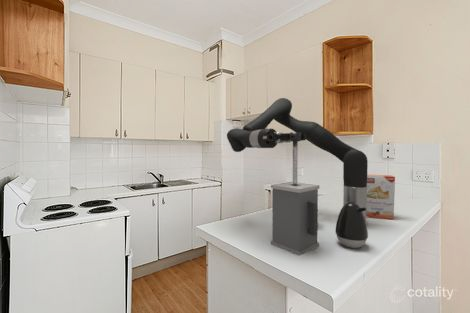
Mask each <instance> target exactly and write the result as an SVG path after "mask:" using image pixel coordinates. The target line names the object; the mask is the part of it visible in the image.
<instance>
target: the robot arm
mask: <svg viewBox="0 0 470 313" xmlns="http://www.w3.org/2000/svg"><path fill="white" fill-rule="evenodd" d="M292 108H293V102H292V101H291V100H290V99H288V98H287V97H281V98H278V99H276V100H275V101H274V102H273V103H272V104H271V105H270V106H269V107H268V108H266V110H264V111H263V112H262V113H261V114H260V115H258V116H257V117H256V118H254V119H253V120H251V121H250V122H248V123H247V124H245V125H244V126H243V127H242V128H237V127H236V128H231V129H230V130H229V131H228V132H227V133H226V139H227V140H228V143H229V145H230V147H231V150H232V151H234V152H235V153H240V152H243V151H244V150H245V149H246V148H250V149H251V148H253V149H254V148H257V149H274V148H275V147H277V145H278V144H284V143H287V144H288V143H291V142H292V141H290V140H291V132H286V133H285V132H284V133H283V132H277V131H276V129H275V128H268V126H269V125H270V124H271V122H273V120H274V121H276V122H277V123H279V124H280V125H282V126H284V127H286V128H288V129H290V130H291V131H293V132H301V141H308V142H309V143H310V144H312V145H314V146H315V147H317V148H319V149H321V150H323V151H325V152H328V153H329V154H331V155H332V156H334V157H336V158H337V159H338V160H340V162H342V167H343V170H342V171H343V173H342V174H343V176H342V177H343V196H342V197H343V205H342V207H343V206H344V204H346V203H348V202H354V203H356V204H358V205H359V207H360V208H364V207H365V208H366V211H362V212H363V215H364V217H365V221H366V222H367V217H366V214H367V174H368V165H369V163H368V157H367V154H366V153H364V152H363V151H361V150H359V149H357V148H355V147H352V146H350V145H349V144H347V143H345V142H343V141H342V140H341V139H340V138H338V137H337V136H336V135H335V134H333V133H332V132H331V130H330V131H329V130H328V129H327V128H325V127H324V126H322V125H321V124H319V123H317V122H315V121H309V120H308V121H307V120H306V121H305V120H299V119H298V118H295V117H294V116H292V115H291V111H292ZM301 141H300V142H301Z"/></svg>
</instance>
